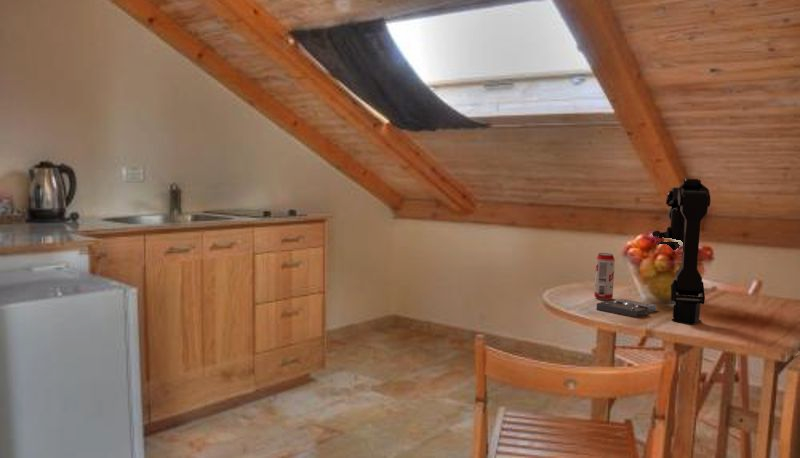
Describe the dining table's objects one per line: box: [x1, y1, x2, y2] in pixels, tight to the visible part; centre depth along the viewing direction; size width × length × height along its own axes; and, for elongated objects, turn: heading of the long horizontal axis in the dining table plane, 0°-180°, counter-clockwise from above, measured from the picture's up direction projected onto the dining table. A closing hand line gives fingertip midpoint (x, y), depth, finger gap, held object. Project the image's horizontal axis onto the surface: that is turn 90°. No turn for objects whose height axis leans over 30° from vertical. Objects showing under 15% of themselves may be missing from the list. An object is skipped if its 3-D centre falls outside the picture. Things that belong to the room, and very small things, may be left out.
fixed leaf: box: [596, 300, 647, 318], centre depth 206 cm, size 14×8×2 cm, turn 42°
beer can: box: [594, 252, 616, 301], centre depth 225 cm, size 6×6×16 cm
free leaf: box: [614, 298, 657, 314], centre depth 210 cm, size 12×8×2 cm
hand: (676, 269), depth 218 cm, fingers closed
